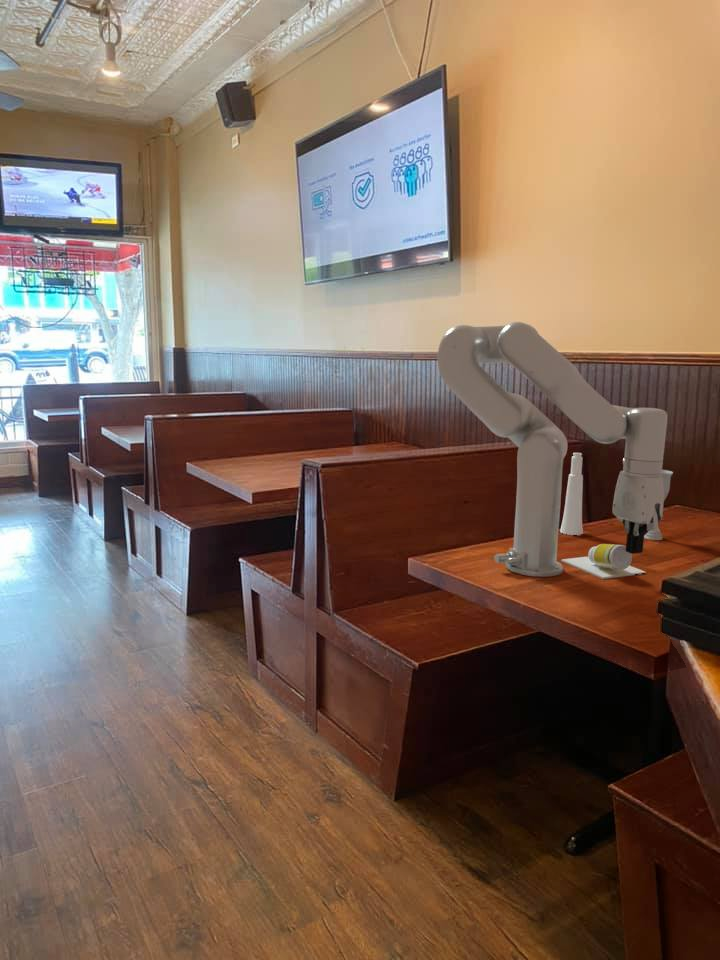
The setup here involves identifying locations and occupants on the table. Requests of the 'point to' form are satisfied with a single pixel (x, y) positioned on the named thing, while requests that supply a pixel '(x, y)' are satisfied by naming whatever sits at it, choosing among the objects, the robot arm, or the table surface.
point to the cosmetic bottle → (574, 499)
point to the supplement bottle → (610, 556)
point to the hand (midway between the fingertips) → (633, 552)
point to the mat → (600, 568)
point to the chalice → (666, 482)
